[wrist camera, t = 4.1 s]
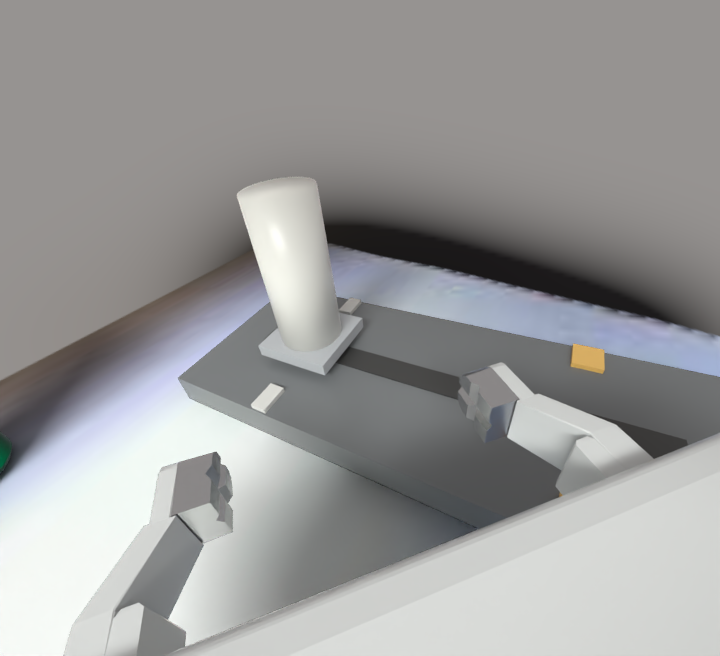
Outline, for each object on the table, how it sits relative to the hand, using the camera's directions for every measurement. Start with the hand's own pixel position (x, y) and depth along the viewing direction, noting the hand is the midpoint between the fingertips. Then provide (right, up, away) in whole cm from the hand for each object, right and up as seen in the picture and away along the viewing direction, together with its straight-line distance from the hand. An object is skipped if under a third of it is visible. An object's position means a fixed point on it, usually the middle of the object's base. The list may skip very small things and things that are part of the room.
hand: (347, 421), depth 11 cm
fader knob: (-3, +2, +12) cm, 13 cm away
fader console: (+5, -2, +10) cm, 11 cm away
